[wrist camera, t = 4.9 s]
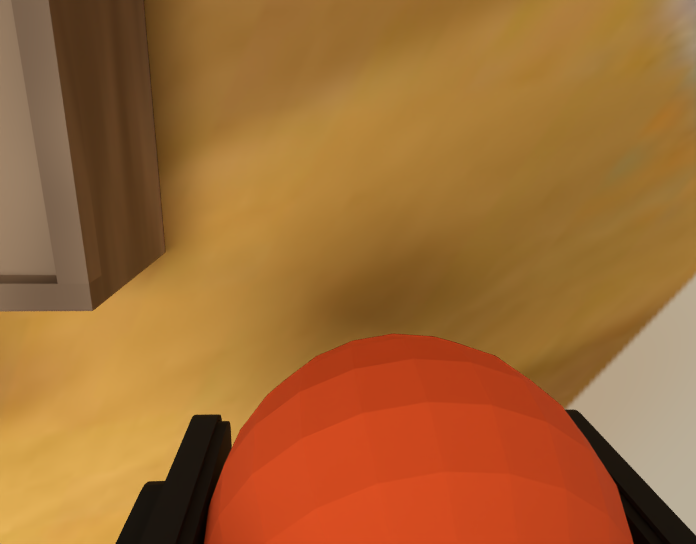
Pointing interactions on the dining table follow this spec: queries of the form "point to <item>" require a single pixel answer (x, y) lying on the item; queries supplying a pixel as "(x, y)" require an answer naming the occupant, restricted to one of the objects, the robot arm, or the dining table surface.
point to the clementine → (412, 456)
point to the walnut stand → (75, 153)
